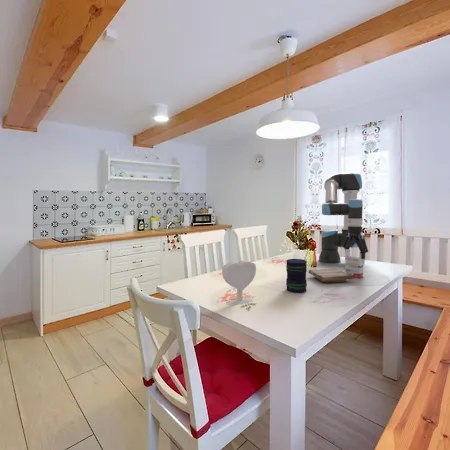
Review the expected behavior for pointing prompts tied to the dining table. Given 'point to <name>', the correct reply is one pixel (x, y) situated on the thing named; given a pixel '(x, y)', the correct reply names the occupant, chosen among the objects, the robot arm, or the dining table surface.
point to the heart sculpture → (239, 278)
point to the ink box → (353, 266)
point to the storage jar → (296, 275)
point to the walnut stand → (330, 275)
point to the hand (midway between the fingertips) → (354, 262)
